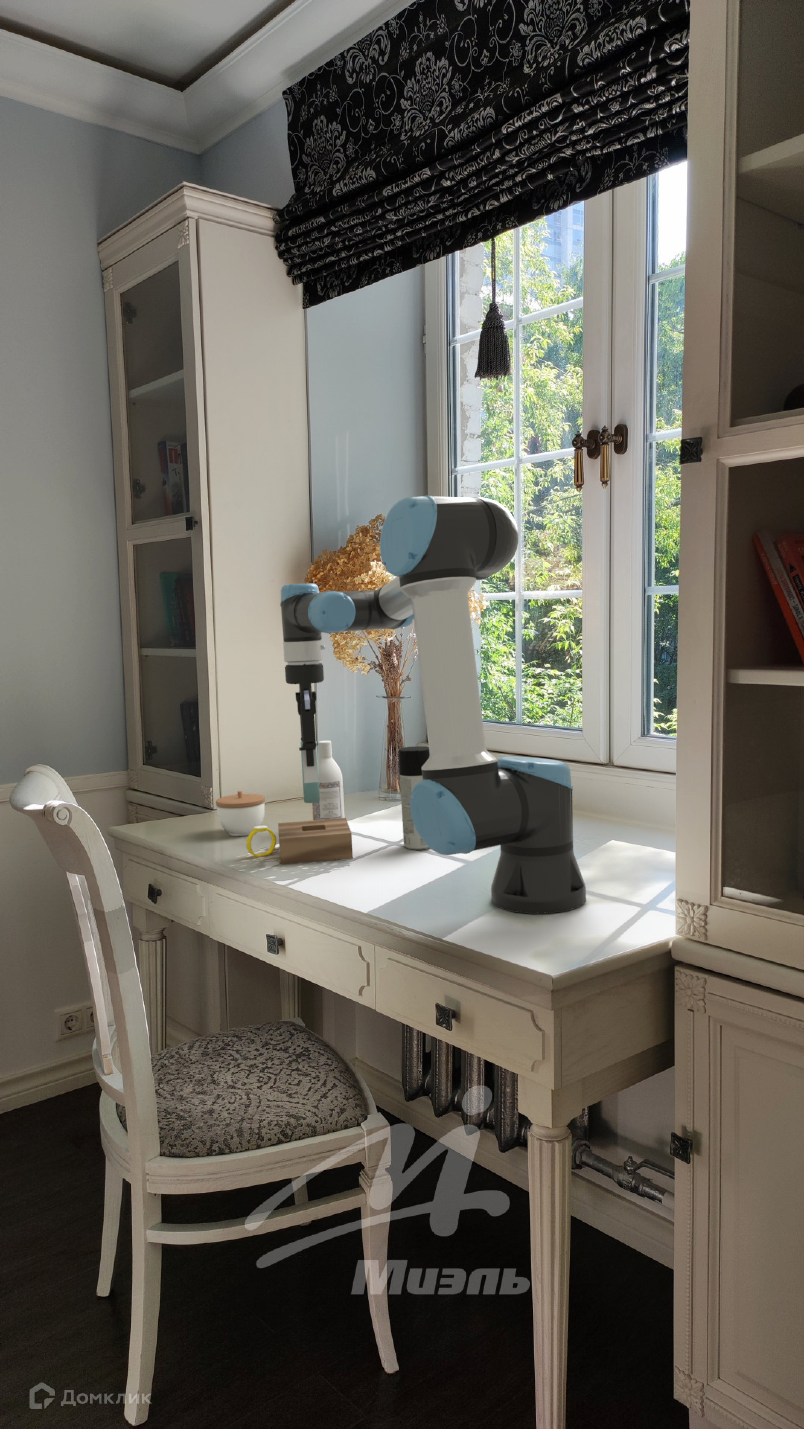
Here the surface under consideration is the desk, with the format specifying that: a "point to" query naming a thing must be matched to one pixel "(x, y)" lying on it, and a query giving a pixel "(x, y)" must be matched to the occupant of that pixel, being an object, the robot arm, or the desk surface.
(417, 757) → the spray can
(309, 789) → the peg
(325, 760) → the bath foam
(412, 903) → the desk surface
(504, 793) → the robot arm
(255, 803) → the lidded jar
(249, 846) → the watch
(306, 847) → the socket
